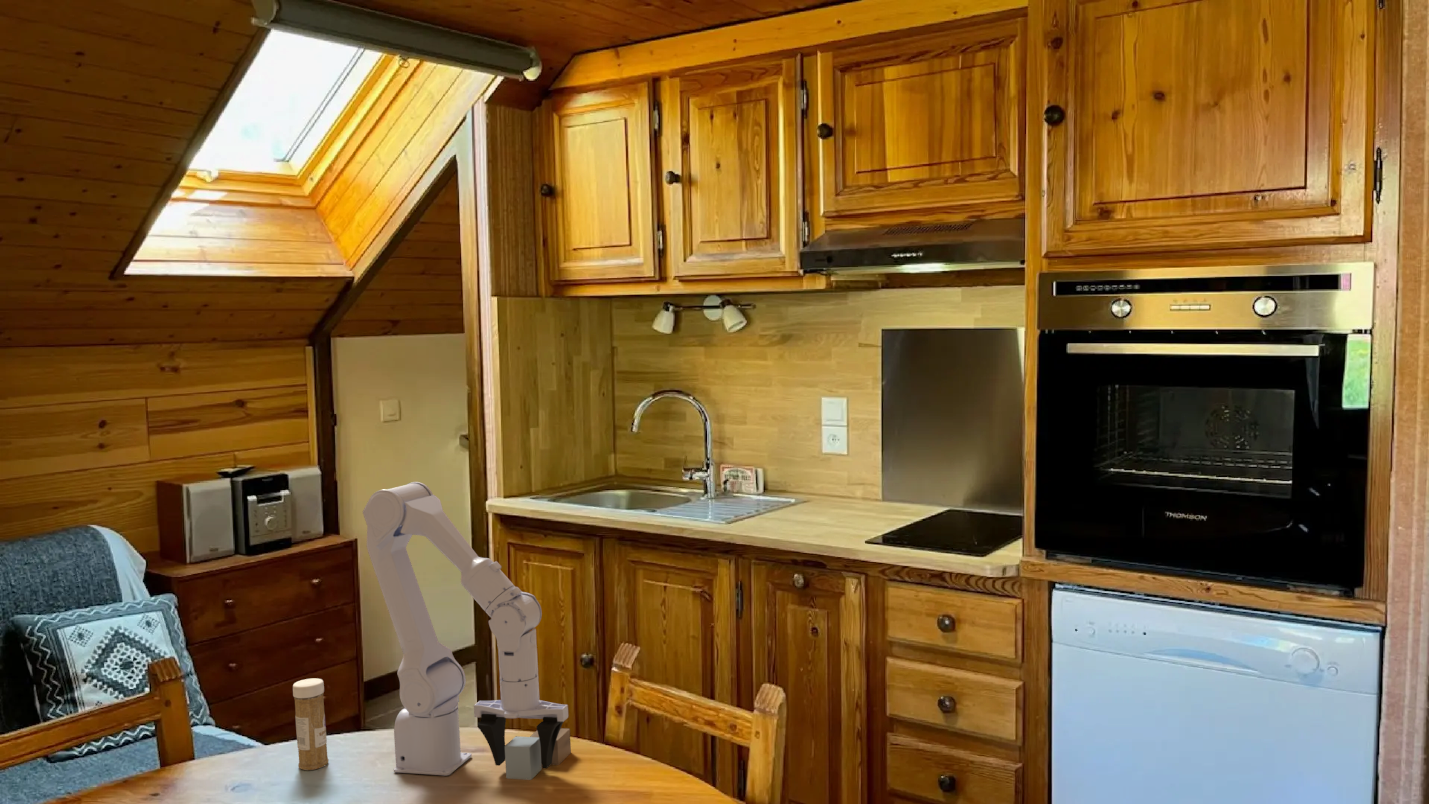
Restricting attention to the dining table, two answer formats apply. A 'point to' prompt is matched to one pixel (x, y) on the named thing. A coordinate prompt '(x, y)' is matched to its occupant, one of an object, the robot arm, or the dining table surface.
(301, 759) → the sprinkles bottle
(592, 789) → the dining table surface
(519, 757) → the slate block
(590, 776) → the dining table surface
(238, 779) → the dining table surface
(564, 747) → the walnut block
